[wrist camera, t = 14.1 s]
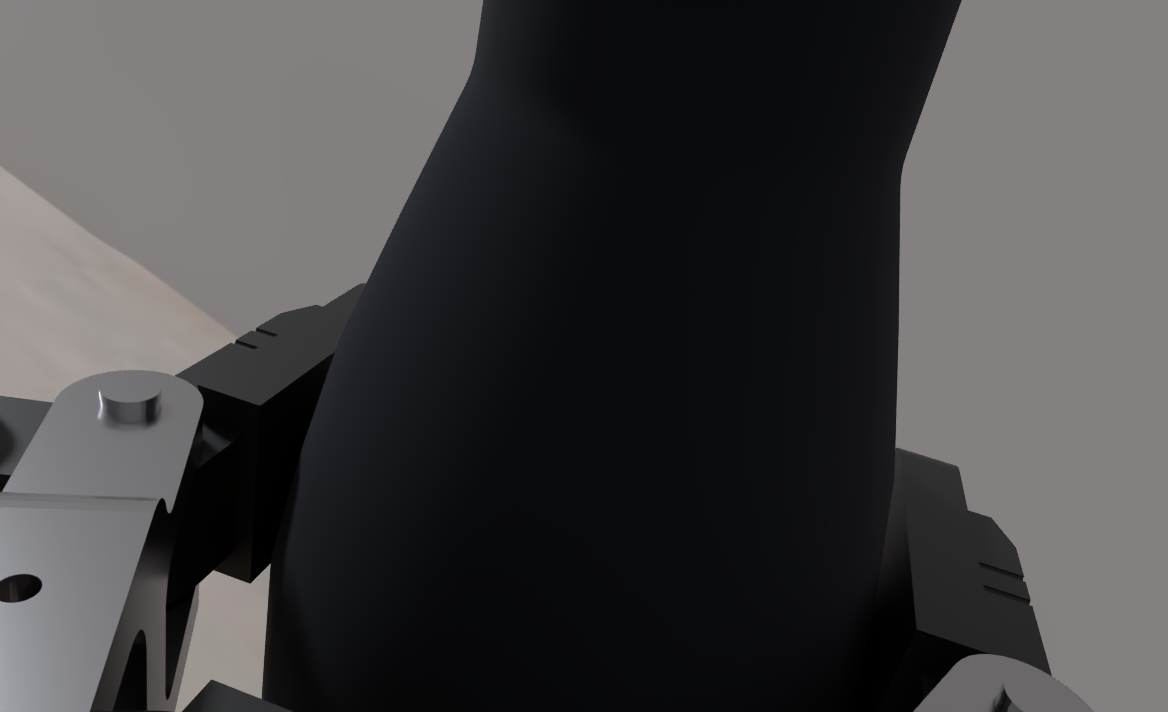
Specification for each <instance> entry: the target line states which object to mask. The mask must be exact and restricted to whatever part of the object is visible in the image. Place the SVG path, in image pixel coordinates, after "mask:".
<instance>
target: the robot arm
mask: <svg viewBox="0 0 1168 712" xmlns="http://www.w3.org/2000/svg"><path fill="white" fill-rule="evenodd" d="M365 285H366V284H365V283H363V284H359V285H357V286H356V287H354V288H352V289H351V290H349V291H347V292H346V293H345V294H343V295H341V296H339V297H338V298H336V299H335V300H333V301H331V302H330V303H328V304H327V305H325V306H323V307H321V306H318V305H314V306H309V307H305V308H301V309H297V310H293V311H288V312H285V313H281V314H279V315H277V316H276V317H274V318H272V319H271V320H269V321H267V322H265V323H264V324H262V325H260V326H259V327H257V328H256V331H255V332H254V331H250V332H248V333H247V334H245V335H243V336H242V337H240V338H238V339H237V340H236V342H235V344H233V343H230V344H228V345H226V346H225V347H223V348H221V349H220V350H218V351H216V352H215V353H213V354H211V355H209V356H208V357H206V358H204V359H203V360H201V361H199V362H198V363H196V364H194V365H192V366H191V367H189V368H187V369H186V370H184V371H182V372H181V373H179V374H177V375H175V376H172V375H169V374H165V373H160V372H153V371H142V370H125V371H114V372H107V373H102V374H97V375H93V376H90V377H87V378H84V379H81V380H79V381H77V382H75V383H73V384H71V385H69V386H68V387H66V388H65V389H64V390H63V391H61V392H60V394H59V395H58V396H57V398H56V399H55V401H54V403H51V402H44V401H36V400H28V399H20V398H13V397H5V396H0V712H175V708H176V704H177V699H178V695H179V690H180V686H181V681H182V677H183V672H184V668H185V664H186V659H187V655H188V650H189V646H190V641H191V637H192V632H193V628H194V623H195V619H196V614H197V610H198V602H199V583H200V582H201V581H202V580H203V579H204V578H205V577H206V576H207V575H208V574H210V573H211V572H212V571H213V570H215V571H218V572H220V573H223V574H226V575H228V576H231V577H234V578H236V579H239V580H242V581H244V582H247V583H251V582H252V581H253V580H254V579H255V578H256V577H257V576H258V575H259V574H260V573H261V572H262V571H263V570H264V569H265V568H266V567H267V566H268V565H269V564H270V563H271V556H272V552H273V549H274V545H275V541H276V538H277V534H278V531H279V527H280V524H281V520H282V516H283V513H284V509H285V506H286V502H287V499H288V495H289V492H290V488H291V484H292V481H293V477H294V474H295V470H296V467H297V463H298V459H299V456H300V452H301V450H302V447H303V444H304V441H305V438H306V435H307V432H308V429H309V426H310V423H311V420H312V417H313V415H314V412H315V409H316V406H317V403H318V400H319V397H320V394H321V391H322V388H323V385H324V383H325V380H326V377H327V374H328V371H329V368H330V365H331V362H332V359H333V356H334V353H335V350H336V348H337V345H338V342H339V339H340V337H341V334H342V332H343V330H344V328H345V326H346V324H347V322H348V320H349V318H350V316H351V314H352V312H353V310H354V308H355V306H356V304H357V302H358V300H359V298H360V296H361V293H362V291H363V289H364V287H365ZM1023 577H1024V575H1023V572H1022V568H1021V564H1020V561H1019V557H1018V553H1017V550H1016V547H1015V546H1014V545H1013V544H1012V542H1011V541H1010V540H1009V539H1008V538H1007V536H1006V535H1005V534H1004V533H1003V531H1002V530H1001V529H1000V528H999V527H998V525H997V524H996V523H995V522H994V520H993V519H992V518H990V517H987V516H984V515H981V514H978V513H975V512H971V511H968V509H967V505H966V500H965V495H964V490H963V485H962V481H961V476H960V472H959V469H958V467H957V466H955V465H952V464H948V463H945V462H942V461H939V460H935V459H932V458H929V457H926V456H923V455H919V454H916V453H913V452H910V451H906V450H903V449H899V448H896V449H895V475H894V485H893V491H892V498H891V504H890V511H889V517H888V524H887V530H886V536H885V543H884V549H883V556H882V562H881V569H880V575H879V581H878V588H877V594H876V601H875V606H874V611H873V615H872V620H871V625H870V629H869V634H868V639H867V643H866V648H865V653H864V657H863V662H862V666H861V671H860V676H859V680H858V685H857V690H856V694H855V699H854V703H853V708H852V711H851V712H1094V711H1093V710H1092V709H1091V708H1090V707H1089V706H1088V705H1087V704H1086V703H1085V702H1084V701H1083V700H1082V699H1081V698H1080V697H1079V696H1078V695H1077V694H1075V693H1074V692H1073V691H1072V690H1070V689H1069V688H1068V687H1067V686H1065V685H1064V684H1062V683H1061V682H1060V681H1058V680H1057V679H1055V678H1053V677H1052V675H1051V671H1050V668H1049V664H1048V661H1047V657H1046V653H1045V650H1044V647H1043V643H1042V639H1041V636H1040V632H1039V628H1038V625H1037V621H1036V618H1035V614H1034V611H1033V607H1032V606H1030V605H1029V603H1030V596H1029V593H1028V589H1027V586H1026V583H1025V582H1024V581H1023ZM182 712H293V711H290V710H287V709H285V708H282V707H280V706H277V705H275V704H272V703H270V702H267V701H265V700H262V699H260V698H257V697H255V696H252V695H250V694H247V693H244V692H242V691H239V690H237V689H234V688H232V687H229V686H227V685H224V684H222V683H219V682H217V681H214V680H212V679H211V681H210V682H209V683H208V684H207V685H206V686H205V687H204V688H203V689H202V690H201V692H200V693H199V694H198V695H197V696H196V697H195V698H194V699H193V700H192V701H191V702H190V704H189V705H188V706H187V707H186V708H185V709H184V710H183V711H182Z"/></svg>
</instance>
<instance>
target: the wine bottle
mask: <svg viewBox="0 0 1168 712" xmlns="http://www.w3.org/2000/svg"><path fill="white" fill-rule="evenodd" d="M960 3H961V0H483V7H482V14H481V21H480V28H479V35H478V42H477V48H476V55H475V60H474V64H473V67H472V71H471V74H470V76H469V78H468V81H467V83H466V85H465V87H464V89H463V91H462V93H461V95H460V97H459V99H458V101H457V103H456V105H455V107H454V109H453V111H452V113H451V115H450V117H449V119H448V121H447V123H446V125H445V127H444V129H443V131H442V133H441V134H440V137H439V138H438V141H437V142H436V144H435V146H434V148H433V151H432V152H431V154H430V156H429V158H428V160H427V162H426V164H425V166H424V168H423V170H422V172H421V174H420V176H419V178H418V180H417V182H416V184H415V186H414V188H413V190H412V192H411V194H410V196H409V198H408V200H407V202H406V204H405V205H404V207H403V209H402V212H401V213H400V216H399V218H398V220H397V222H396V224H395V226H394V228H393V230H392V232H391V234H390V236H389V238H388V240H387V242H386V244H385V246H384V248H383V250H382V253H381V254H380V257H379V259H378V261H377V263H376V265H375V267H374V269H373V271H372V273H371V275H370V277H369V279H368V281H367V283H366V285H365V287H364V289H363V291H362V293H361V296H360V298H359V300H358V302H357V304H356V306H355V308H354V310H353V312H352V314H351V316H350V318H349V320H348V322H347V324H346V326H345V328H344V330H343V332H342V334H341V337H340V339H339V342H338V345H337V348H336V350H335V353H334V356H333V359H332V362H331V365H330V368H329V371H328V374H327V377H326V380H325V383H324V385H323V388H322V391H321V394H320V397H319V400H318V403H317V406H316V409H315V412H314V415H313V417H312V420H311V423H310V426H309V429H308V432H307V435H306V438H305V441H304V444H303V447H302V450H301V452H300V456H299V459H298V463H297V467H296V470H295V474H294V477H293V481H292V484H291V488H290V492H289V495H288V499H287V502H286V506H285V509H284V513H283V516H282V520H281V524H280V527H279V531H278V534H277V538H276V541H275V545H274V549H273V552H272V556H271V568H270V582H269V597H268V612H267V627H266V641H265V656H264V671H263V686H262V700H265V701H267V702H270V703H272V704H275V705H277V706H280V707H282V708H285V709H287V710H290V711H293V712H851V711H852V708H853V703H854V699H855V694H856V690H857V685H858V680H859V676H860V671H861V666H862V662H863V657H864V653H865V648H866V643H867V639H868V634H869V629H870V625H871V620H872V615H873V611H874V606H875V601H876V594H877V588H878V581H879V575H880V569H881V562H882V556H883V549H884V543H885V536H886V530H887V524H888V517H889V511H890V504H891V498H892V491H893V485H894V475H895V439H896V404H897V403H896V401H897V369H898V367H897V366H898V333H899V332H898V331H899V330H898V329H899V327H898V326H899V251H900V250H899V249H900V184H901V174H902V168H903V164H904V160H905V157H906V154H907V151H908V148H909V145H910V143H911V140H912V137H913V134H914V131H915V129H916V126H917V123H918V120H919V118H920V115H921V112H922V109H923V106H924V104H925V101H926V98H927V95H928V92H929V90H930V87H931V84H932V81H933V78H934V75H935V73H936V70H937V67H938V64H939V62H940V59H941V56H942V53H943V51H944V48H945V45H946V42H947V39H948V36H949V34H950V31H951V28H952V25H953V23H954V20H955V17H956V14H957V12H958V9H959V6H960Z"/></svg>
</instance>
